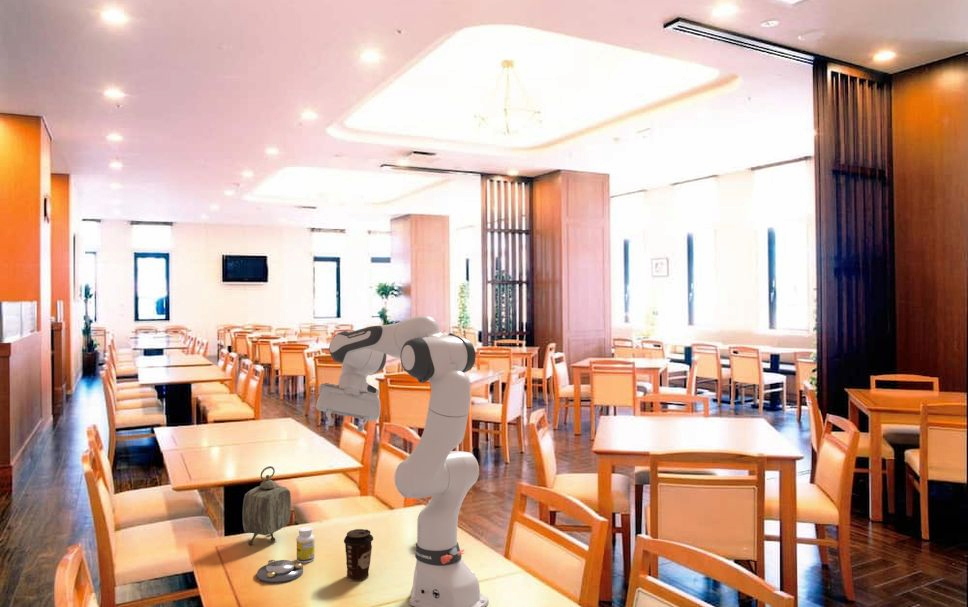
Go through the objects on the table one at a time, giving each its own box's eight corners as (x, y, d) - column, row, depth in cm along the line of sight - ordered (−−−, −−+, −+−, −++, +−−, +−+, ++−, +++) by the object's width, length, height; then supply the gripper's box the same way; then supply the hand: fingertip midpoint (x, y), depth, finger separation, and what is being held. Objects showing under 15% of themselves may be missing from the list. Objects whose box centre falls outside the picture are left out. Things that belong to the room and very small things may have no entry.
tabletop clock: (270, 532, 231) (271, 460, 230) (292, 535, 227) (293, 463, 227) (242, 546, 217) (242, 470, 217) (264, 550, 214) (265, 473, 214)
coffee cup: (376, 571, 198) (377, 528, 198) (369, 583, 190) (369, 538, 190) (348, 570, 199) (348, 527, 199) (339, 581, 191) (340, 537, 191)
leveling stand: (311, 573, 196) (311, 565, 196) (271, 587, 187) (271, 578, 187) (288, 561, 205) (288, 553, 205) (248, 574, 195) (249, 565, 195)
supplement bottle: (295, 557, 208) (296, 526, 208) (313, 555, 210) (313, 525, 210) (297, 564, 203) (297, 532, 203) (315, 562, 205) (315, 530, 205)
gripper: (322, 377, 209) (314, 417, 201) (384, 390, 215) (379, 430, 208) (317, 385, 214) (310, 425, 206) (378, 398, 220) (373, 437, 212)
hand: (345, 427), depth 207 cm, fingers open, 8 cm apart
